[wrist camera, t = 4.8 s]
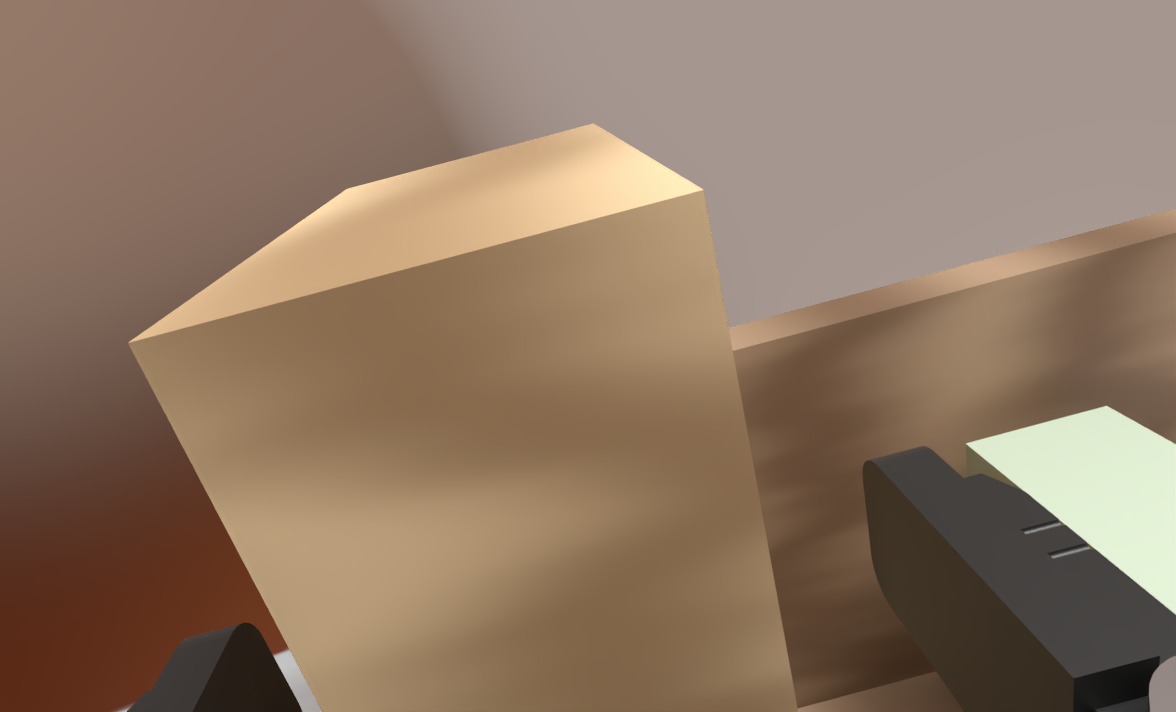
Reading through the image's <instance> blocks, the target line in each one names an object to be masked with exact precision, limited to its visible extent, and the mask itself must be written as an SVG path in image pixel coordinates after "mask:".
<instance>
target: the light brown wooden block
mask: <svg viewBox="0 0 1176 712" xmlns="http://www.w3.org/2000/svg"><path fill="white" fill-rule="evenodd" d="M128 344H129V346H130V348H131V350H132V351H133V353H134V355H135V357H136V359H137V361H138V363H139V365H140V366H141V368H142V370H143V372H144V374H145V376H146V378H147V380H148V382H149V384H150V386H151V387H152V389H153V391H154V393H155V395H156V397H157V399H158V401H159V403H160V405H161V406H162V408H163V410H164V412H165V414H166V416H167V418H168V420H169V422H170V423H171V425H172V427H173V429H174V431H175V433H176V435H177V437H178V439H179V440H180V442H181V444H182V446H183V448H184V450H185V452H186V454H187V456H188V458H189V460H190V461H191V463H192V465H193V467H194V469H195V471H196V473H197V475H198V477H199V478H200V480H201V482H202V484H203V486H204V488H205V490H206V492H207V494H208V496H209V497H210V499H211V501H212V503H213V505H214V507H215V509H216V511H217V512H218V514H219V516H220V518H221V520H222V522H223V524H224V526H225V528H226V530H227V532H228V533H229V535H230V537H231V539H232V541H233V543H234V545H235V547H236V549H237V551H238V552H239V554H240V556H241V558H242V560H243V562H244V563H245V566H246V567H247V569H248V571H249V573H250V575H251V577H252V579H253V581H254V583H255V585H256V587H257V588H258V590H259V592H260V594H261V596H262V598H263V600H264V602H265V604H266V606H267V607H268V609H269V611H270V613H271V615H272V617H273V619H274V621H275V622H276V625H277V626H278V628H279V630H280V632H281V634H282V636H283V638H284V640H285V642H286V643H287V645H288V647H289V649H290V651H291V653H292V655H293V657H294V659H295V661H296V662H297V664H298V666H299V668H300V670H301V672H302V674H303V676H304V678H305V679H306V681H307V683H308V685H309V687H310V689H311V691H312V693H313V695H314V697H315V698H316V700H317V702H318V704H319V706H320V708H321V710H322V712H798V708H797V703H796V697H795V692H794V686H793V680H792V675H791V669H790V664H789V658H788V653H787V647H786V642H785V636H784V631H783V625H782V620H781V614H780V609H779V603H778V598H777V592H776V587H775V581H774V576H773V570H772V565H771V559H770V554H769V548H768V543H767V537H766V532H765V526H764V521H763V515H762V510H761V504H760V499H759V493H758V488H757V482H756V477H755V471H754V465H753V460H752V454H751V449H750V443H749V438H748V432H747V427H746V421H745V416H744V410H743V405H742V399H741V394H740V388H739V383H738V377H737V372H736V366H735V361H734V355H733V350H732V344H731V339H730V333H729V328H728V322H727V317H726V311H725V306H724V300H723V295H722V289H721V284H720V279H719V273H718V267H717V262H716V256H715V251H714V245H713V239H712V234H711V228H710V223H709V217H708V212H707V206H706V201H705V196H704V190H703V189H701V188H700V187H698V186H696V185H695V184H693V183H691V182H690V181H688V180H686V179H685V178H683V177H681V176H680V175H678V174H676V173H675V172H673V171H671V170H670V169H668V168H666V167H665V166H663V165H662V164H660V163H658V162H657V161H655V160H653V159H651V158H650V157H648V156H646V155H645V154H643V153H641V152H640V151H638V150H637V149H635V148H633V147H632V146H630V145H628V144H626V143H625V142H623V141H622V140H620V139H618V138H617V137H615V136H613V135H612V134H610V133H608V132H607V131H605V130H603V129H602V128H600V127H598V126H597V125H595V124H590V125H586V126H582V127H579V128H575V129H571V130H567V131H563V132H560V133H557V134H552V135H548V136H545V137H541V138H537V139H533V140H530V141H526V142H522V143H518V144H515V145H511V146H507V147H503V148H500V149H496V150H492V151H488V152H485V153H481V154H477V155H473V156H470V157H466V158H462V159H458V160H454V161H451V162H447V163H443V164H439V165H436V166H432V167H428V168H425V169H420V170H417V171H413V172H409V173H405V174H402V175H398V176H394V177H391V178H387V179H383V180H379V181H376V182H372V183H368V184H364V185H360V186H357V187H353V188H349V189H346V190H345V191H344V192H343V193H341V194H339V195H338V196H336V197H335V198H334V199H332V200H331V201H329V202H328V203H326V204H325V205H324V206H322V207H321V208H319V209H318V210H316V211H315V212H314V213H312V214H311V215H309V216H308V217H307V218H305V219H304V220H302V221H301V222H299V223H298V224H297V225H295V226H294V227H292V228H291V229H289V230H288V231H287V232H285V233H284V234H282V235H281V236H279V237H278V238H277V239H275V240H274V241H272V242H271V243H270V244H268V245H267V246H265V247H264V248H262V249H261V250H260V251H258V252H257V253H255V254H254V255H253V256H251V257H250V258H248V259H247V260H245V261H244V262H243V263H241V264H240V265H238V266H237V267H235V268H234V269H233V270H231V271H230V272H228V273H227V274H225V275H224V276H223V277H221V278H220V279H218V280H217V281H216V282H214V283H213V284H211V285H210V286H208V287H207V288H206V289H204V290H203V291H201V292H200V293H198V294H197V295H196V296H194V297H193V298H191V299H190V300H188V301H187V302H186V303H184V304H183V305H181V306H180V307H178V308H177V309H176V310H174V311H173V312H172V313H170V314H169V315H167V316H166V317H164V318H163V319H161V320H160V321H159V322H157V323H156V324H155V325H153V326H151V327H150V328H149V329H147V330H146V331H144V332H143V333H141V334H140V335H139V336H137V337H136V338H134V339H133V340H131V341H130V342H129V343H128Z"/></svg>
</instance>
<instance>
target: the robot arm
mask: <svg viewBox="0 0 1176 712" xmlns="http://www.w3.org/2000/svg"><path fill="white" fill-rule="evenodd" d="M862 476H863V486H864V495H865V504H866V513H867V522H868V531H869V540H870V548H871V557H872V562H873V567H874V570H875V574H876V577H877V580H878V582H879V585H880V587H881V590H882V592H883V594H884V596H885V598H886V600H887V602H888V603H889V605H890V607H891V608H892V610H893V611H894V612H895V614H896V615H897V617H898V618H899V620H900V621H901V622H902V624H903V625H904V627H905V628H906V629H907V631H908V632H909V634H910V635H911V637H912V638H913V639H914V641H915V642H916V644H917V645H918V647H919V648H920V649H921V651H922V652H923V654H924V655H925V656H926V658H927V659H928V661H929V662H930V664H931V665H932V666H933V668H934V669H935V671H936V672H937V673H938V675H939V676H940V678H941V679H942V681H943V682H944V683H945V685H946V686H947V688H948V689H949V691H950V692H951V693H952V695H953V696H954V698H955V699H956V700H957V702H958V703H959V705H960V706H961V708H962V709H963V710H964V712H1176V615H1175V614H1174V613H1173V612H1172V611H1170V610H1169V609H1168V608H1167V607H1165V606H1164V605H1163V604H1162V603H1161V602H1159V601H1158V600H1157V599H1156V598H1154V597H1153V596H1152V595H1151V594H1150V593H1148V592H1147V591H1146V590H1145V589H1143V588H1142V587H1141V586H1140V585H1139V584H1137V583H1136V582H1135V581H1134V580H1133V579H1131V578H1130V577H1129V576H1128V575H1126V574H1125V573H1124V572H1123V571H1122V570H1120V569H1119V568H1118V567H1117V566H1115V565H1114V564H1113V563H1112V562H1111V561H1109V560H1108V559H1107V558H1106V557H1104V556H1103V555H1102V554H1101V553H1100V552H1098V551H1097V550H1096V549H1092V550H1091V549H1090V548H1089V546H1088V543H1087V542H1086V541H1085V540H1084V539H1083V538H1081V537H1080V536H1079V535H1078V534H1076V533H1075V532H1074V531H1073V530H1072V529H1070V528H1069V527H1068V526H1067V525H1063V526H1062V525H1061V524H1060V522H1059V519H1058V518H1057V517H1056V516H1055V515H1053V514H1052V513H1051V512H1050V511H1048V510H1047V509H1046V508H1045V507H1044V506H1042V505H1041V504H1040V503H1039V502H1037V501H1036V500H1035V499H1034V498H1033V497H1031V496H1030V495H1029V494H1028V493H1026V492H1025V491H1023V490H1020V489H1018V488H1015V487H1013V486H1011V485H1008V484H1006V483H1003V482H1001V481H999V480H996V479H994V478H991V477H989V476H987V475H984V474H982V473H981V474H977V475H973V476H969V477H966V478H963V477H962V476H961V475H960V474H959V473H957V472H956V471H955V470H954V469H953V468H952V467H951V466H950V465H949V464H947V463H946V462H945V461H944V460H943V459H942V458H941V457H940V456H939V455H937V454H936V453H935V452H934V451H933V450H932V449H930V448H928V447H926V446H921V447H917V448H913V449H909V450H906V451H902V452H898V453H894V454H890V455H887V456H883V457H879V458H875V459H871V460H868V461H866V462H865V463H864V465H863V470H862ZM127 712H302V710H301V707H300V705H299V703H298V701H297V699H296V697H295V696H294V694H293V692H292V690H291V688H290V686H289V685H288V683H287V681H286V679H285V677H284V675H283V673H282V672H281V670H280V668H279V666H278V664H277V662H276V661H275V659H274V657H273V655H272V653H271V651H270V650H269V648H268V646H267V644H266V642H265V640H264V638H263V637H262V635H261V633H260V632H259V630H258V629H257V628H256V627H255V626H253V625H252V624H249V623H242V624H239V625H235V626H231V627H228V628H224V629H220V630H216V631H212V632H208V633H204V634H201V635H197V636H193V637H189V638H187V639H185V640H183V641H182V642H181V643H180V644H179V645H178V646H177V648H176V649H175V651H174V653H173V654H172V656H171V658H170V659H169V661H168V663H167V664H166V666H165V668H164V670H163V671H162V673H161V675H160V676H159V678H158V680H157V682H156V683H155V685H154V687H153V689H152V690H150V691H147V692H145V693H144V694H143V696H141V697H140V698H139V699H138V701H137V702H136V703H135V704H134V705H133V706H132V707H131V708H130V709H129V710H128V711H127Z"/></svg>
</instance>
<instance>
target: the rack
mask: <svg viewBox="0 0 1176 712" xmlns="http://www.w3.org/2000/svg"><path fill="white" fill-rule="evenodd" d="M729 333H730V339H731V344H732V350H733V355H734V361H735V366H736V372H737V377H738V383H739V388H740V394H741V399H742V405H743V410H744V416H745V421H746V427H747V432H748V438H749V443H750V449H751V454H752V460H753V465H754V471H755V477H756V482H757V488H758V493H759V499H760V504H761V510H762V515H763V521H764V526H765V532H766V537H767V543H768V548H769V554H770V559H771V565H772V570H773V576H774V581H775V587H776V592H777V598H778V603H779V609H780V614H781V620H782V625H783V631H784V636H785V642H786V647H787V653H788V658H789V664H790V669H791V675H792V680H793V686H794V692H795V697H796V703H797V708H798V712H964V710H963V709H962V708H961V706H960V705H959V703H958V702H957V700H956V699H955V698H954V696H953V695H952V693H951V692H950V691H949V689H948V688H947V686H946V685H945V683H944V682H943V681H942V679H941V678H940V676H939V675H938V673H937V672H936V671H935V669H934V668H933V666H932V665H931V664H930V662H929V661H928V659H927V658H926V656H925V655H924V654H923V652H922V651H921V649H920V648H919V647H918V645H917V644H916V642H915V641H914V639H913V638H912V637H911V635H910V634H909V632H908V631H907V629H906V628H905V627H904V625H903V624H902V622H901V621H900V620H899V618H898V617H897V615H896V614H895V612H894V611H893V610H892V608H891V607H890V605H889V603H888V602H887V600H886V598H885V596H884V594H883V592H882V590H881V587H880V585H879V582H878V580H877V577H876V574H875V570H874V567H873V562H872V557H871V548H870V540H869V531H868V522H867V513H866V504H865V495H864V486H863V476H862V470H863V465H864V463H865V462H866V461H868V460H871V459H875V458H879V457H883V456H887V455H890V454H894V453H898V452H902V451H906V450H909V449H913V448H917V447H921V446H926V447H928V448H930V449H932V450H933V451H934V452H935V453H936V454H937V455H939V456H940V457H941V458H942V459H943V460H944V461H945V462H946V463H947V464H949V465H950V466H951V467H952V468H953V469H954V470H955V471H956V472H957V473H959V474H960V475H961V476H962V477H963V478H966V477H967V462H966V443H969V442H973V441H977V440H981V439H984V438H988V437H992V436H996V435H999V434H1003V433H1007V432H1011V431H1014V430H1018V429H1022V428H1026V427H1029V426H1033V425H1037V424H1041V423H1044V422H1048V421H1052V420H1056V419H1059V418H1063V417H1067V416H1071V415H1074V414H1078V413H1082V412H1085V411H1089V410H1093V409H1097V408H1100V407H1104V406H1108V407H1110V408H1112V409H1113V410H1115V411H1117V412H1119V413H1121V414H1122V415H1124V416H1126V417H1128V418H1130V419H1131V420H1133V421H1135V422H1137V423H1138V424H1140V425H1142V426H1144V427H1146V428H1147V429H1149V430H1151V431H1153V432H1155V433H1156V434H1158V435H1160V436H1162V437H1164V438H1165V439H1167V440H1169V441H1171V442H1173V443H1174V444H1176V209H1173V210H1169V211H1166V212H1162V213H1158V214H1154V215H1150V216H1147V217H1143V218H1140V219H1135V220H1132V221H1128V222H1124V223H1121V224H1117V225H1113V226H1109V227H1105V228H1102V229H1098V230H1094V231H1090V232H1087V233H1083V234H1079V235H1075V236H1072V237H1068V238H1064V239H1060V240H1057V241H1053V242H1049V243H1045V244H1042V245H1038V246H1034V247H1030V248H1027V249H1023V250H1019V251H1015V252H1012V253H1008V254H1004V255H1000V256H997V257H993V258H989V259H986V260H982V261H978V262H974V263H970V264H967V265H963V266H959V267H955V268H952V269H948V270H944V271H941V272H937V273H933V274H929V275H926V276H922V277H918V278H914V279H910V280H907V281H903V282H899V283H896V284H892V285H888V286H884V287H880V288H877V289H873V290H869V291H865V292H862V293H858V294H854V295H850V296H847V297H843V298H839V299H836V300H832V301H828V302H824V303H820V304H817V305H813V306H809V307H805V308H802V309H798V310H794V311H790V312H787V313H783V314H779V315H775V316H772V317H768V318H764V319H760V320H757V321H753V322H749V323H745V324H742V325H738V326H734V327H731V328H729Z"/></svg>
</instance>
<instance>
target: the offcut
mask: <svg viewBox="0 0 1176 712" xmlns="http://www.w3.org/2000/svg"><path fill="white" fill-rule="evenodd" d="M966 462H967V477H969V476H973V475H977V474H981V473H982V474H984V475H987V476H989V477H991V478H994V479H996V480H999V481H1001V482H1003V483H1006V484H1008V485H1011V486H1013V487H1015V488H1018V489H1020V490H1023V491H1025V492H1026V493H1028V494H1029V495H1030V496H1031V497H1033V498H1034V499H1035V500H1036V501H1037V502H1039V503H1040V504H1041V505H1042V506H1044V507H1045V508H1046V509H1047V510H1048V511H1050V512H1051V513H1052V514H1053V515H1055V516H1056V517H1057V518H1058V519H1059V522H1060V524H1061V525H1062V526H1063V525H1067V526H1068V527H1069V528H1070V529H1072V530H1073V531H1074V532H1075V533H1076V534H1078V535H1079V536H1080V537H1081V538H1083V539H1084V540H1085V541H1086V542H1087V543H1088V546H1089V548H1090V549H1091V550H1092V549H1096V550H1097V551H1098V552H1100V553H1101V554H1102V555H1103V556H1104V557H1106V558H1107V559H1108V560H1109V561H1111V562H1112V563H1113V564H1114V565H1115V566H1117V567H1118V568H1119V569H1120V570H1122V571H1123V572H1124V573H1125V574H1126V575H1128V576H1129V577H1130V578H1131V579H1133V580H1134V581H1135V582H1136V583H1137V584H1139V585H1140V586H1141V587H1142V588H1143V589H1145V590H1146V591H1147V592H1148V593H1150V594H1151V595H1152V596H1153V597H1154V598H1156V599H1157V600H1158V601H1159V602H1161V603H1162V604H1163V605H1164V606H1165V607H1167V608H1168V609H1169V610H1170V611H1172V612H1173V613H1174V614H1175V615H1176V444H1174V443H1173V442H1171V441H1169V440H1167V439H1165V438H1164V437H1162V436H1160V435H1158V434H1156V433H1155V432H1153V431H1151V430H1149V429H1147V428H1146V427H1144V426H1142V425H1140V424H1138V423H1137V422H1135V421H1133V420H1131V419H1130V418H1128V417H1126V416H1124V415H1122V414H1121V413H1119V412H1117V411H1115V410H1113V409H1112V408H1110V407H1108V406H1104V407H1100V408H1097V409H1093V410H1089V411H1085V412H1082V413H1078V414H1074V415H1071V416H1067V417H1063V418H1059V419H1056V420H1052V421H1048V422H1044V423H1041V424H1037V425H1033V426H1029V427H1026V428H1022V429H1018V430H1014V431H1011V432H1007V433H1003V434H999V435H996V436H992V437H988V438H984V439H981V440H977V441H973V442H969V443H966Z"/></svg>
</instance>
